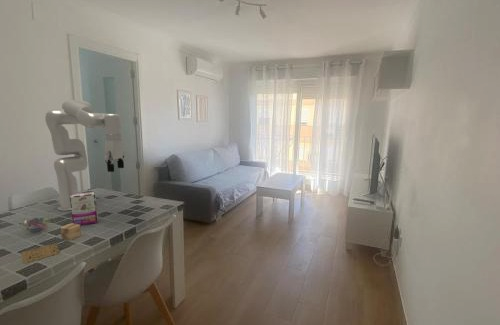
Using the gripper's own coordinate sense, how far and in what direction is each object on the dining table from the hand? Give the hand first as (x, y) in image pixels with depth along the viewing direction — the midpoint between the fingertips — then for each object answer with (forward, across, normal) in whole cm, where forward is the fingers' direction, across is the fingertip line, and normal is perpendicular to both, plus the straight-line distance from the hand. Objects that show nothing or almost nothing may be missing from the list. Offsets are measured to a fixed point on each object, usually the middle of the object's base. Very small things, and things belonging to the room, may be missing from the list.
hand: (116, 169), depth 137 cm
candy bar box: (+29, +4, -16) cm, 34 cm away
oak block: (+29, +20, -13) cm, 37 cm away
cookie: (+30, +35, -15) cm, 48 cm away
